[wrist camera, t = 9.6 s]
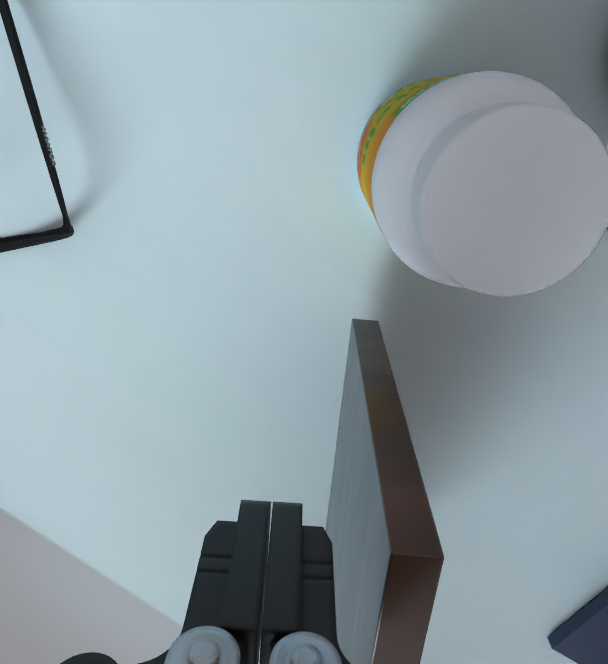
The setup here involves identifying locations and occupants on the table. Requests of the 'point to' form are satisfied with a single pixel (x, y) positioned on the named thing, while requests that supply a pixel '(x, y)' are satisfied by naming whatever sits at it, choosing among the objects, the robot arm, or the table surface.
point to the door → (379, 516)
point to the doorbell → (585, 634)
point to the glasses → (66, 230)
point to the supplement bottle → (485, 181)
